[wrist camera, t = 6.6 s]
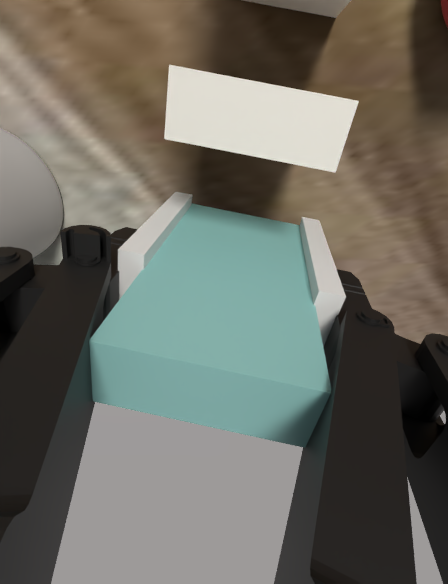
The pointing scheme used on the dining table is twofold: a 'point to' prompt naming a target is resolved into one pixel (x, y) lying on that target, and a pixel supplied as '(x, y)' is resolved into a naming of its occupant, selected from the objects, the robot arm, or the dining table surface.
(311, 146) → the domino
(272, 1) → the domino
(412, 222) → the dining table surface
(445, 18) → the fruit
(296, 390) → the domino
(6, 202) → the mug
